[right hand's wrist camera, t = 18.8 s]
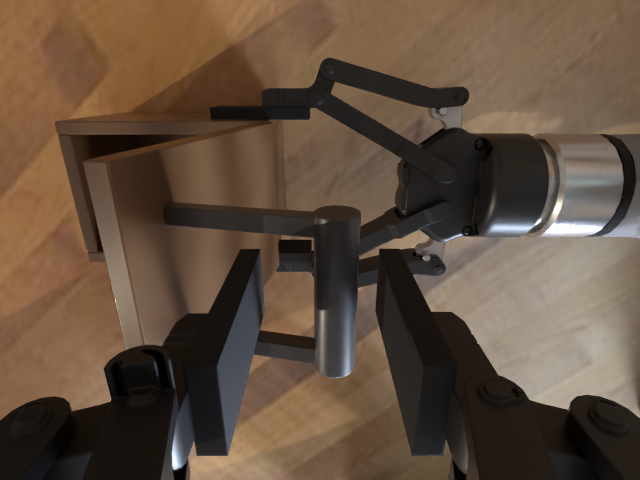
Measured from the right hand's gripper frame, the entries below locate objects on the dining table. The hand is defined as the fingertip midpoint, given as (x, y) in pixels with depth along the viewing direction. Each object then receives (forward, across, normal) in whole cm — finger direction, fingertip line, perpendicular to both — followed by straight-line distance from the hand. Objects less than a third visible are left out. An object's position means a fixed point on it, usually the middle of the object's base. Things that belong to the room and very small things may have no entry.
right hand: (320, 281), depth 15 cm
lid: (+5, +5, 0) cm, 7 cm away
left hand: (+15, +7, 0) cm, 16 cm away
